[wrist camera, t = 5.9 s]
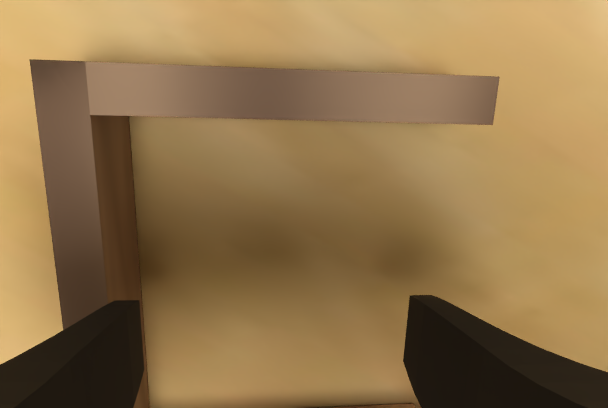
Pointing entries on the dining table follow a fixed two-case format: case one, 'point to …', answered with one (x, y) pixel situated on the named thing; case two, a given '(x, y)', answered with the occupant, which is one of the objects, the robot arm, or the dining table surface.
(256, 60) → the dining table surface
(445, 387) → the robot arm
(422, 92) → the frame
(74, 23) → the dining table surface
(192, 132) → the dining table surface
